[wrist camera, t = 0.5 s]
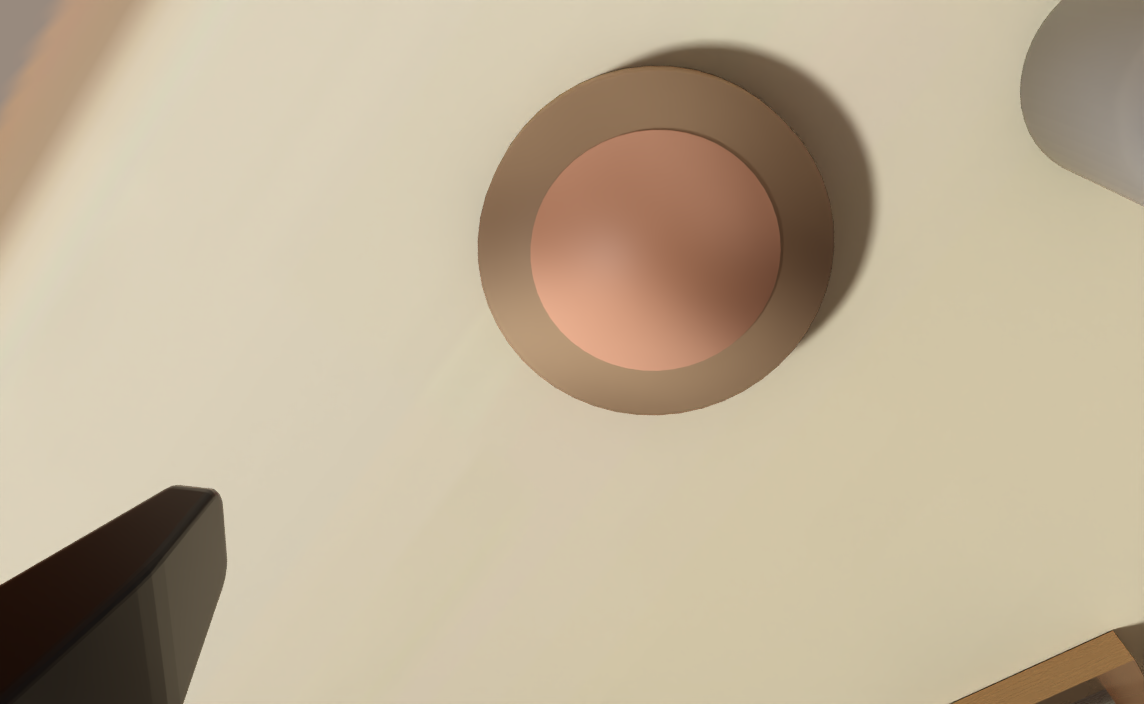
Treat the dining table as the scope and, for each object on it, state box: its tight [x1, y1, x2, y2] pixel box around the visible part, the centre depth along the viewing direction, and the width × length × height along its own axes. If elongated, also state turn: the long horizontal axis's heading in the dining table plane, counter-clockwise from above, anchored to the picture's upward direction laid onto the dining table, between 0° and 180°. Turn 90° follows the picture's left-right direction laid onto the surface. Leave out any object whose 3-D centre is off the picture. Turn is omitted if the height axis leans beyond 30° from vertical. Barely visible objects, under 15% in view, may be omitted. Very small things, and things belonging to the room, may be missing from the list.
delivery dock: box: [478, 66, 834, 415], centre depth 23 cm, size 8×8×1 cm
